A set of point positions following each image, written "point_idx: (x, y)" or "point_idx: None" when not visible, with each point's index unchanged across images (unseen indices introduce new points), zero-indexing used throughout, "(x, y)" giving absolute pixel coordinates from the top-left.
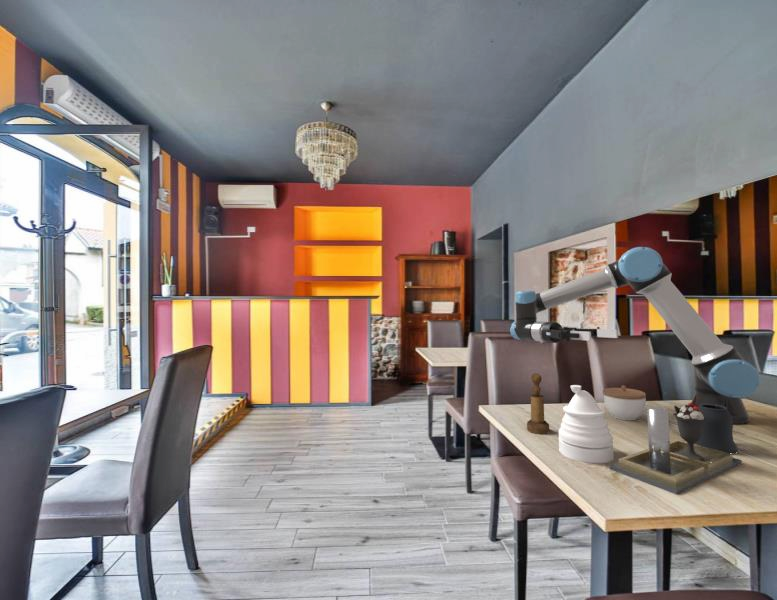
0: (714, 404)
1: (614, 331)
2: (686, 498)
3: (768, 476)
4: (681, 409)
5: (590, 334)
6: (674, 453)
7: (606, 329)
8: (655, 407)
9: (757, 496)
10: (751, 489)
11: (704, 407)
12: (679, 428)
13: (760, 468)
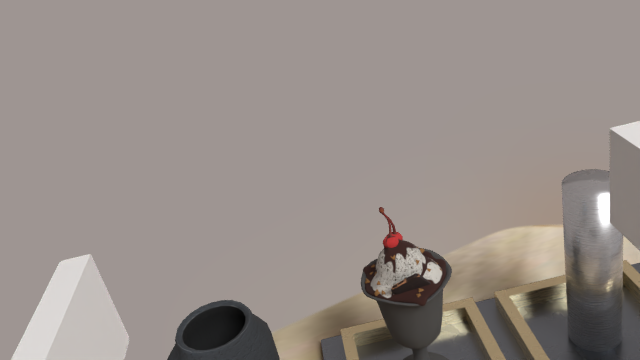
0: (176, 340)
1: (92, 288)
2: (631, 258)
3: (352, 298)
4: (421, 261)
5: (617, 157)
6: (491, 355)
7: (53, 343)
8: (585, 191)
9: (475, 253)
10: (455, 269)
11: (249, 325)
12: (440, 313)
13: (317, 324)
